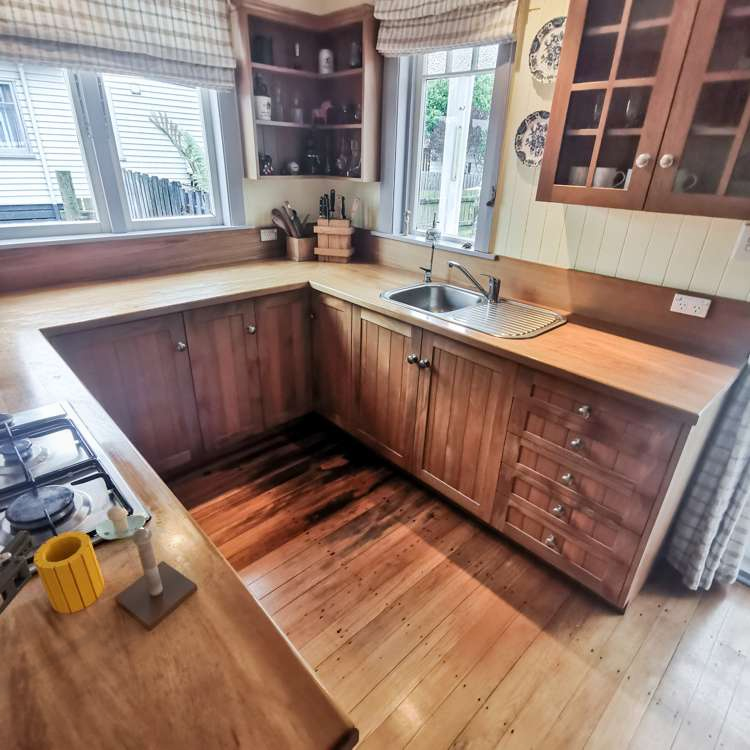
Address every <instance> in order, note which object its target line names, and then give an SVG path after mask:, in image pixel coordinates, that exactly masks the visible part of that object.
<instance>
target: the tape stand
mask: <svg viewBox="0 0 750 750" xmlns="http://www.w3.org/2000/svg"><path fill="white" fill-rule="evenodd" d="M152 537H153V533H152V531H151V530H150V528H148V527H146V526H142V527H141V528H138V529H137V530H135V531H134V533H133V535H132V536H131V540H132V542H133V544H134V545H136V549H137V553H138V556H139V559H140V564H141V567H142V571H143V575H142V576H141V577H139V578H138V579H136V580H135V581H134V582H133V583H131V584H130V585H129V586H128V587H126V588H124V589H123V590H122V591H120V593H118V594H117V595H116V596H114V602H115V604H116V605H117V606H119V607H120V608H121V609H122V610H123V611H125V612H126V613H127V614H128V615H130V616H131V617H132V618H133V619H134V620H136V621H137V622H138V623H139V624H141V626H143V627H144V628H145V629H146V630H148V631H149V632H152V630H153V629H155V628H156V627H157V626H158V625H159V624H160V623H161V622H163V621H164V620H165V619H166V618H167V617H168V616H169V615H171V614H172V613H173V612H174V611H175V610H176V609H178V608H179V607H180V606H181V605H182V604H184V602H186V601H187V600H188V599H189V598H190V597H191V596H192V595H194V594H195V593H196V592H197V591H198V590H199V589H198V584H197V583H195V582H194V581H193V580H191V579H190V578H188V576H185V575H184V574H182V573H181V572H179V570H177V569H176V568H174V567H172V566H171V565H170V564H168V563H167V562H166V561H164V560H162V561H160V562H159V563H157V560H156V555H155V552H154V548H153V543H152Z"/></svg>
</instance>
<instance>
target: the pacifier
mask: <svg viewBox="0 0 750 750" xmlns="http://www.w3.org/2000/svg"><path fill="white" fill-rule="evenodd" d="M127 515H130V516H127ZM106 516H107V518H108V519H104V520H103V521H101V522H99V523H98V524H97V525H96V527H95V531H96V535H97V536H98V537H99V538H101V539H103V540H109V541H110V540H111V541H112V540H116V539H119V540H120V539H126V538H130V537H131V538H132V535H133V533H134V531H135V530H137V529H138V528H141V527H144V525H145V523H146V518H145V517H144V515H141V514H129V511H128V510H127V509H125V508H124V507H119V506H114V507H111V508H109V509H108V510H107V512H106Z"/></svg>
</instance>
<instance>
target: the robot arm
mask: <svg viewBox="0 0 750 750" xmlns="http://www.w3.org/2000/svg"><path fill="white" fill-rule="evenodd" d="M34 547H35V544H34V541H33V537H32V534H31V532H30V531H29V530H19V531H18V532H17V533H16V534H15V535H14V536H13V538H12V539H10V541H9V542H8V543H7V545H5V546H4V548H3V549H2V550H1V551H0V616H1V614H2V613H4V611H5V610H6V609H7V608H8V607H9V605H10V604H11V603H12V602H13V600H14V599H15V598H16V597H17V596H18V594H20V592H21V591H22V590H23V588H24V587H25V586H26V585H27V584H28V583H29V581H30V580H32V577H33V575H32V571H31V570H30V567H29V563H28V561H27V559H26V558H27V557H28V556H29V554H30V553H31V552H32V550H33V549H34Z"/></svg>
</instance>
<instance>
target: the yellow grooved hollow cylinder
mask: <svg viewBox="0 0 750 750" xmlns="http://www.w3.org/2000/svg"><path fill="white" fill-rule="evenodd" d="M33 556H34V557H33V564H34V566H35V569H36V570H37V573H38V576H39V578H40V581H41V583H42V585H43V588H44V590H45V593H46V596H47V598H48V600H49V603H50V605H51V608H53V609H54V610H55V611H56V612H57V613H59V614H73V613H76V612H79V611H82V610H84V609H85V608H88V607H89V606H91V605H92V604H93V603H95V602H96V601H97V600H98V599H99V598H100V596H101V594H102V593H103V592H104V588H105V580H104V576H103V574H102V571H101V568H100V565H99V562H98V557H97V556H96V552H95V550H94V545H93V543H92V540H91V537H90V535H88V534H86V532H85V531H84V532H83V531H77V530H75V531H73V530H71V531H67V532H63V533H59V534H58V535H57V536H56V535H54V536H53V537H51V538H50V539H48V540H46V541H44V543H42V544H41V545H40V547H38V549H36V551H35V553H34V555H33Z"/></svg>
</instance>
